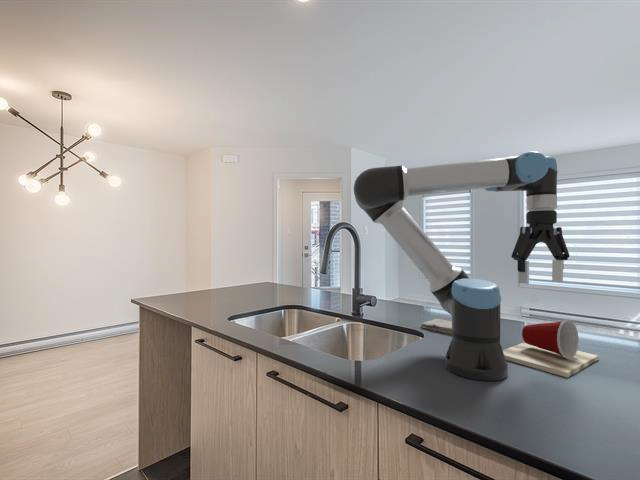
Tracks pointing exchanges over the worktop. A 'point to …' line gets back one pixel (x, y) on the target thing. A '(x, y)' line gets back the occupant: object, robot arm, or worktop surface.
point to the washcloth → (438, 326)
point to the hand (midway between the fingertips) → (540, 282)
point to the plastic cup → (553, 337)
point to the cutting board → (548, 359)
